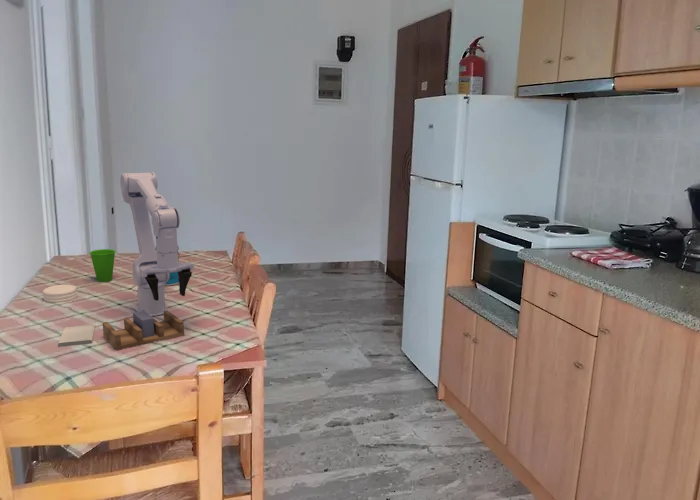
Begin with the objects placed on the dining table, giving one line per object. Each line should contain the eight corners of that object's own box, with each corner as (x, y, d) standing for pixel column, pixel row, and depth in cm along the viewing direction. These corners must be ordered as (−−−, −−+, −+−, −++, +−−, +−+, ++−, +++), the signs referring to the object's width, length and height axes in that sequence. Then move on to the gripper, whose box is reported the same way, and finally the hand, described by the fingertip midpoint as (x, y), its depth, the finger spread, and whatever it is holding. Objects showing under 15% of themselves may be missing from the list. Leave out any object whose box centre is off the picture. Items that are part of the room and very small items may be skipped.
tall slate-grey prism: (133, 329, 158) (132, 312, 157) (144, 327, 160) (143, 310, 159) (143, 337, 152) (142, 320, 151) (154, 335, 154) (153, 318, 153)
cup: (117, 282, 207) (115, 253, 204) (90, 284, 203) (88, 255, 201) (117, 276, 215) (115, 248, 212) (92, 278, 211) (89, 249, 209)
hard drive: (91, 339, 150) (95, 324, 161) (57, 343, 147) (63, 326, 158) (92, 345, 150) (95, 329, 161) (58, 349, 147) (64, 332, 159)
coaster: (62, 304, 182) (62, 294, 181) (36, 301, 184) (35, 291, 183) (83, 295, 191) (82, 285, 190) (58, 293, 193) (57, 283, 192)
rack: (103, 336, 155) (102, 322, 154) (168, 323, 166) (167, 310, 165) (116, 350, 146) (115, 335, 145) (184, 335, 157) (183, 321, 156)
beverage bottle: (152, 285, 204) (149, 231, 200) (164, 279, 212) (162, 227, 208) (172, 287, 202) (170, 233, 198) (185, 281, 210) (182, 229, 206)
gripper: (145, 257, 150) (148, 305, 153) (197, 250, 158) (199, 296, 161) (137, 252, 155) (140, 298, 158) (187, 246, 164) (189, 290, 167)
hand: (169, 297), depth 160 cm, fingers open, 7 cm apart
